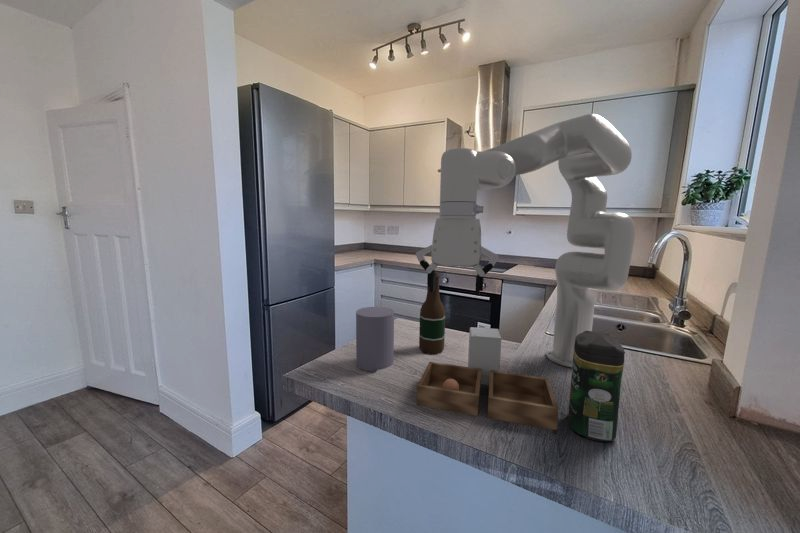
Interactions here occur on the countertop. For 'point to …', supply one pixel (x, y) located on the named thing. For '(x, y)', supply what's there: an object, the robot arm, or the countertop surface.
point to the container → (374, 338)
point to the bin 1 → (446, 399)
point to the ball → (451, 384)
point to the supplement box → (484, 351)
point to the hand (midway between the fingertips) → (454, 292)
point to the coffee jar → (596, 385)
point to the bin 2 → (522, 400)
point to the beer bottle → (432, 322)
